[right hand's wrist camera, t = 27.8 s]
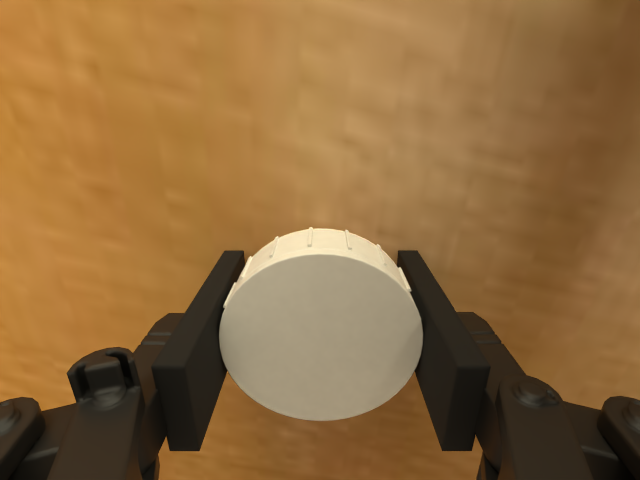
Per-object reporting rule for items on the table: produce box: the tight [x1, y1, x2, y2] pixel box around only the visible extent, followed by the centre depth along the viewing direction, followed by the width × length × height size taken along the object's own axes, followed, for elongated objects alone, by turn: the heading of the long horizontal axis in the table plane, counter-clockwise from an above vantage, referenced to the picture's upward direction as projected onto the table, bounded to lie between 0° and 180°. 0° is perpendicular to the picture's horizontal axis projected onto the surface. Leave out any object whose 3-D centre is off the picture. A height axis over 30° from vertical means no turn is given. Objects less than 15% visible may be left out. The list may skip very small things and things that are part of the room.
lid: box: [219, 227, 423, 421], centre depth 12 cm, size 6×6×2 cm
